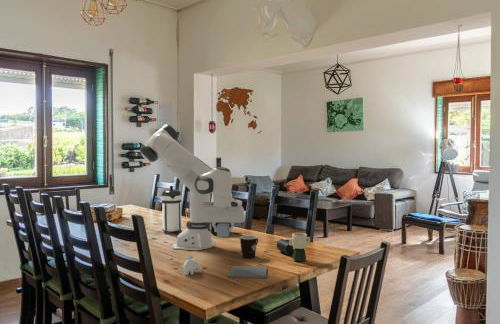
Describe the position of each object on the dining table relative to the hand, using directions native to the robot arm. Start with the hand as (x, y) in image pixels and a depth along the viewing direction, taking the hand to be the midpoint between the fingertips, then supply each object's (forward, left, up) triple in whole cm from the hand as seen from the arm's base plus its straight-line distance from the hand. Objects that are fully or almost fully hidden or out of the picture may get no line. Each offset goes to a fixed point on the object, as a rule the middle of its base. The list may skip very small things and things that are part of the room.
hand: (223, 231), depth 194 cm
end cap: (+29, +24, -16) cm, 41 cm away
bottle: (-13, +69, -16) cm, 72 cm away
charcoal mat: (+12, -9, -16) cm, 22 cm away
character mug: (+35, +11, -16) cm, 41 cm away
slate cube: (0, 0, -2) cm, 2 cm away
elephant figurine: (-13, -11, -16) cm, 23 cm away
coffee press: (-46, +73, -16) cm, 88 cm away
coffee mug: (+11, +17, -16) cm, 26 cm away
